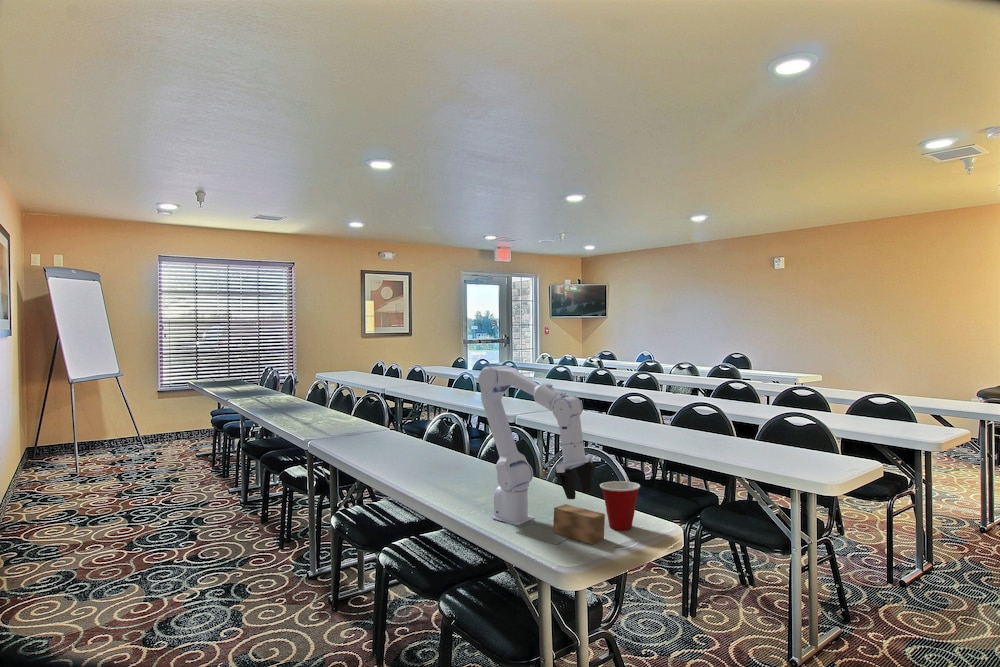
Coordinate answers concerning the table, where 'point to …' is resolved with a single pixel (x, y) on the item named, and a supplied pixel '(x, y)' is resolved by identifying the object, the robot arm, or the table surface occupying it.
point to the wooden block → (579, 523)
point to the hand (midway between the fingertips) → (579, 495)
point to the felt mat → (542, 534)
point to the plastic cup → (620, 503)
